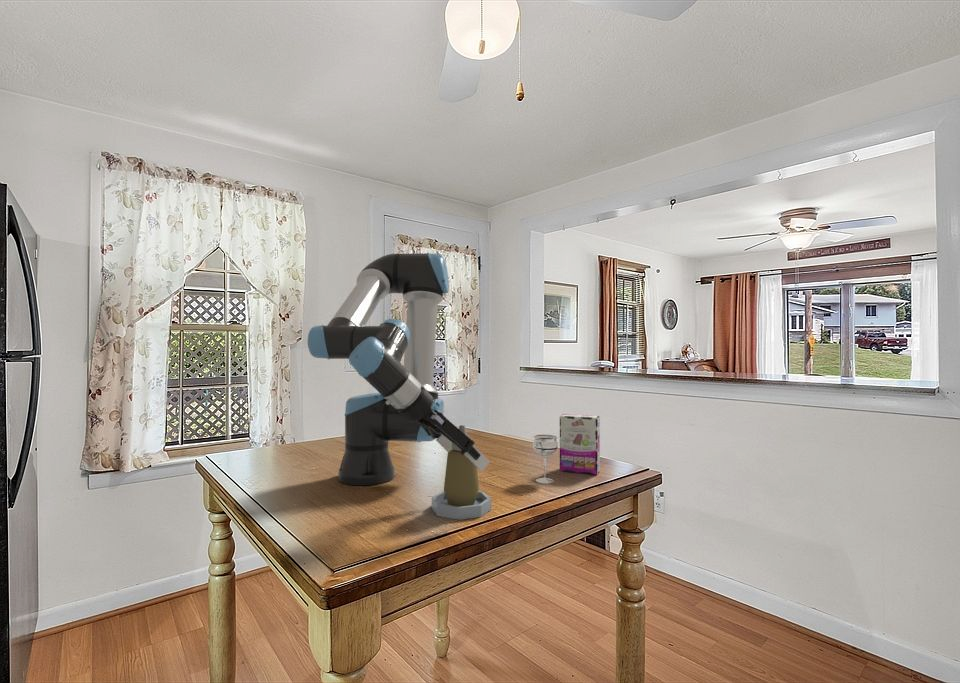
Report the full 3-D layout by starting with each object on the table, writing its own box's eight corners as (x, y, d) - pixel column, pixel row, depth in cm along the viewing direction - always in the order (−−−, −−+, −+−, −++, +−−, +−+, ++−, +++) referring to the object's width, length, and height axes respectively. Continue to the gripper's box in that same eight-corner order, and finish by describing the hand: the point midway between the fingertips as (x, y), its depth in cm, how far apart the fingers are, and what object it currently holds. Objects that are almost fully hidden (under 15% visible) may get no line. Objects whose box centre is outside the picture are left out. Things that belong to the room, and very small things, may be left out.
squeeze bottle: (474, 512, 108) (475, 429, 108) (439, 509, 109) (440, 427, 109) (482, 500, 116) (483, 423, 115) (448, 497, 117) (449, 421, 117)
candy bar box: (600, 471, 145) (600, 415, 145) (597, 475, 141) (598, 418, 141) (562, 467, 150) (563, 413, 150) (558, 471, 145) (559, 415, 145)
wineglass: (541, 475, 140) (541, 433, 140) (562, 480, 136) (562, 436, 136) (527, 481, 135) (528, 437, 135) (549, 485, 130) (549, 440, 130)
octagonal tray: (422, 513, 110) (423, 501, 110) (450, 496, 121) (450, 486, 121) (473, 522, 104) (473, 510, 104) (497, 504, 116) (497, 494, 116)
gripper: (379, 403, 116) (437, 460, 123) (419, 419, 94) (487, 487, 101) (401, 380, 118) (456, 437, 126) (445, 390, 97) (509, 458, 104)
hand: (470, 459), depth 114 cm, fingers open, 13 cm apart
